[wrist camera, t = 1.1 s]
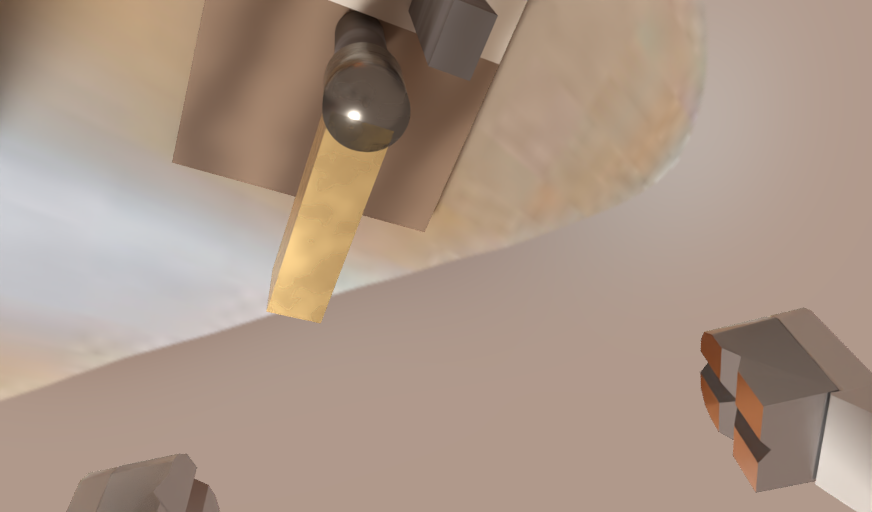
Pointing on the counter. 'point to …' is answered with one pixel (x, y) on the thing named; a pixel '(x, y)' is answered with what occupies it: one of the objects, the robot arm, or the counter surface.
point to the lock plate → (304, 78)
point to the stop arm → (338, 176)
